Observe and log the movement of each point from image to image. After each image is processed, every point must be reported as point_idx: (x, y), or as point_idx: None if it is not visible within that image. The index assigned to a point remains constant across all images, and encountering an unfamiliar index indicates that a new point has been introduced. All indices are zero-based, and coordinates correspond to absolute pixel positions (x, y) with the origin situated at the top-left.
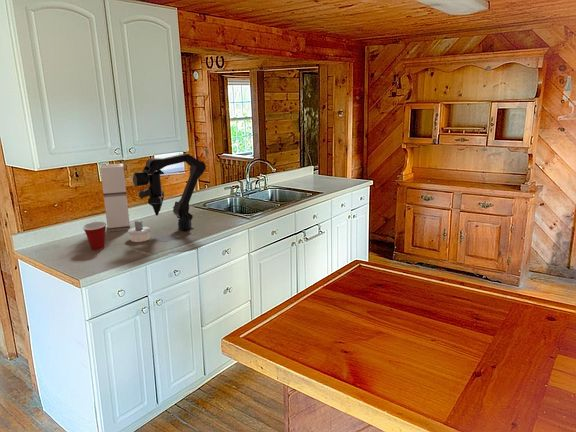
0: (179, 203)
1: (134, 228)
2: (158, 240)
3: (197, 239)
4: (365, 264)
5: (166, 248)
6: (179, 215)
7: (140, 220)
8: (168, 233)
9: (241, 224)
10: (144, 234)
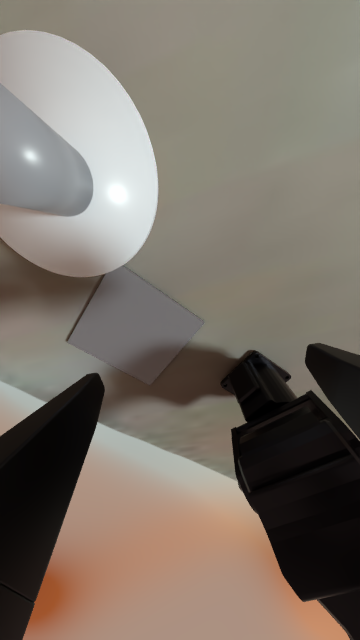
0: (310, 586)
1: (95, 103)
2: (84, 312)
3: (126, 429)
4: None
5: (3, 363)
6: (242, 447)
7: (30, 168)
8: (196, 329)
9: None
10: None
